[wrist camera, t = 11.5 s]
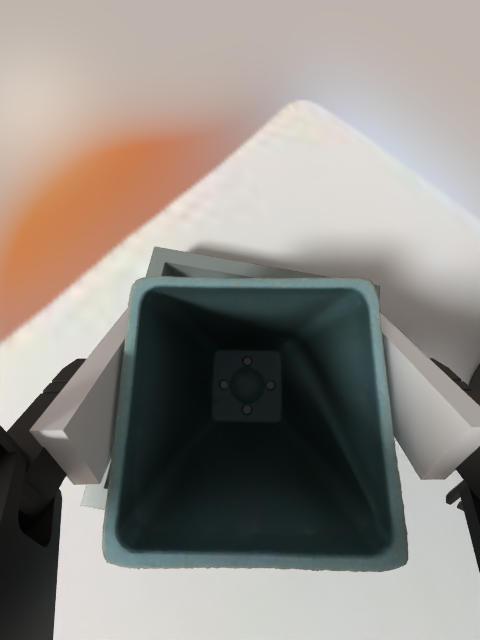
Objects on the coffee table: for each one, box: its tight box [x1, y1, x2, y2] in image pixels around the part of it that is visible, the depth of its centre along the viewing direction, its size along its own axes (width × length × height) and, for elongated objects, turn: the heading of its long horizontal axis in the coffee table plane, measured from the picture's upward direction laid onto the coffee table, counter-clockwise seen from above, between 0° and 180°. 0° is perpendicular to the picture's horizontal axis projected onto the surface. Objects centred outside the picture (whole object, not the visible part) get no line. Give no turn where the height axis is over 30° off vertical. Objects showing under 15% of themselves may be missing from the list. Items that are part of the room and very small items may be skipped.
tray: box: [80, 246, 380, 510], centre depth 16 cm, size 16×16×3 cm
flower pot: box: [102, 276, 408, 572], centre depth 12 cm, size 9×9×9 cm
